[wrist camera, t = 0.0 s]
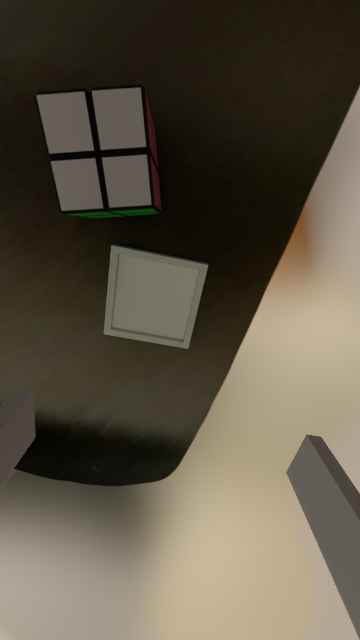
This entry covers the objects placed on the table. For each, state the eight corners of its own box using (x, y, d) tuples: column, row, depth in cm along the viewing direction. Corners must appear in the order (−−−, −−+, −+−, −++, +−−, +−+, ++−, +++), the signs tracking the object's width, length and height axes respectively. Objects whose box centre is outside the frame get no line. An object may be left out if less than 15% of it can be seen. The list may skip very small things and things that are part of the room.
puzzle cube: (155, 127, 30) (143, 81, 20) (162, 213, 33) (155, 208, 24) (77, 133, 30) (30, 90, 21) (92, 218, 33) (59, 214, 24)
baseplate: (115, 244, 35) (111, 245, 33) (206, 262, 36) (208, 265, 34) (107, 328, 40) (103, 334, 38) (187, 342, 41) (188, 348, 39)
